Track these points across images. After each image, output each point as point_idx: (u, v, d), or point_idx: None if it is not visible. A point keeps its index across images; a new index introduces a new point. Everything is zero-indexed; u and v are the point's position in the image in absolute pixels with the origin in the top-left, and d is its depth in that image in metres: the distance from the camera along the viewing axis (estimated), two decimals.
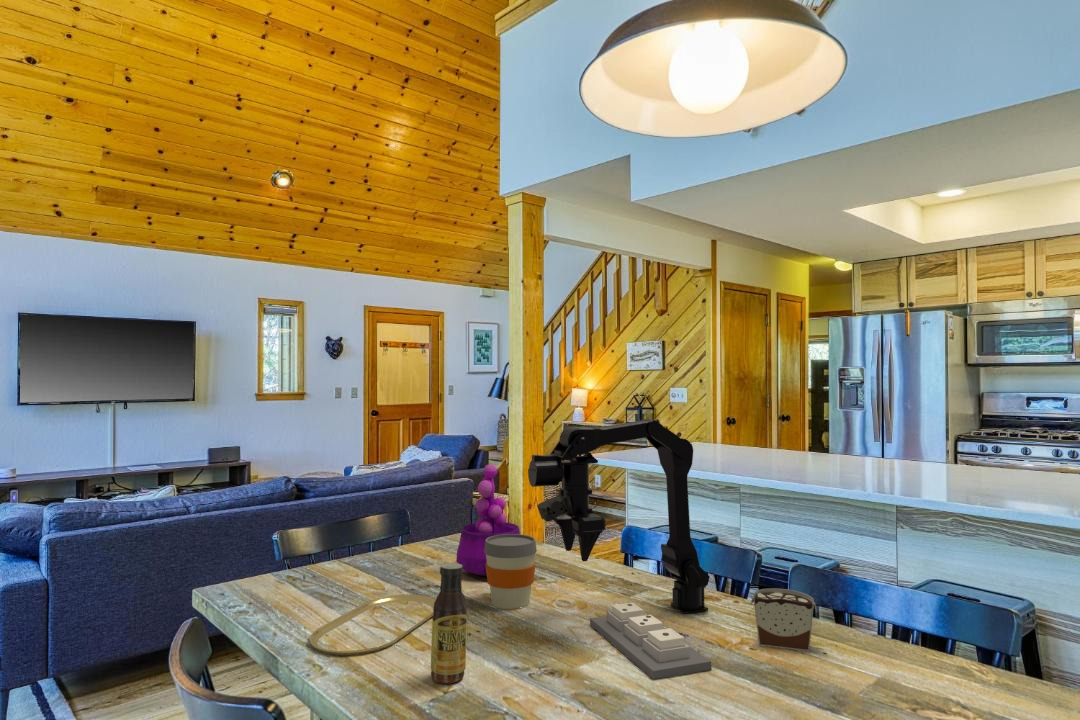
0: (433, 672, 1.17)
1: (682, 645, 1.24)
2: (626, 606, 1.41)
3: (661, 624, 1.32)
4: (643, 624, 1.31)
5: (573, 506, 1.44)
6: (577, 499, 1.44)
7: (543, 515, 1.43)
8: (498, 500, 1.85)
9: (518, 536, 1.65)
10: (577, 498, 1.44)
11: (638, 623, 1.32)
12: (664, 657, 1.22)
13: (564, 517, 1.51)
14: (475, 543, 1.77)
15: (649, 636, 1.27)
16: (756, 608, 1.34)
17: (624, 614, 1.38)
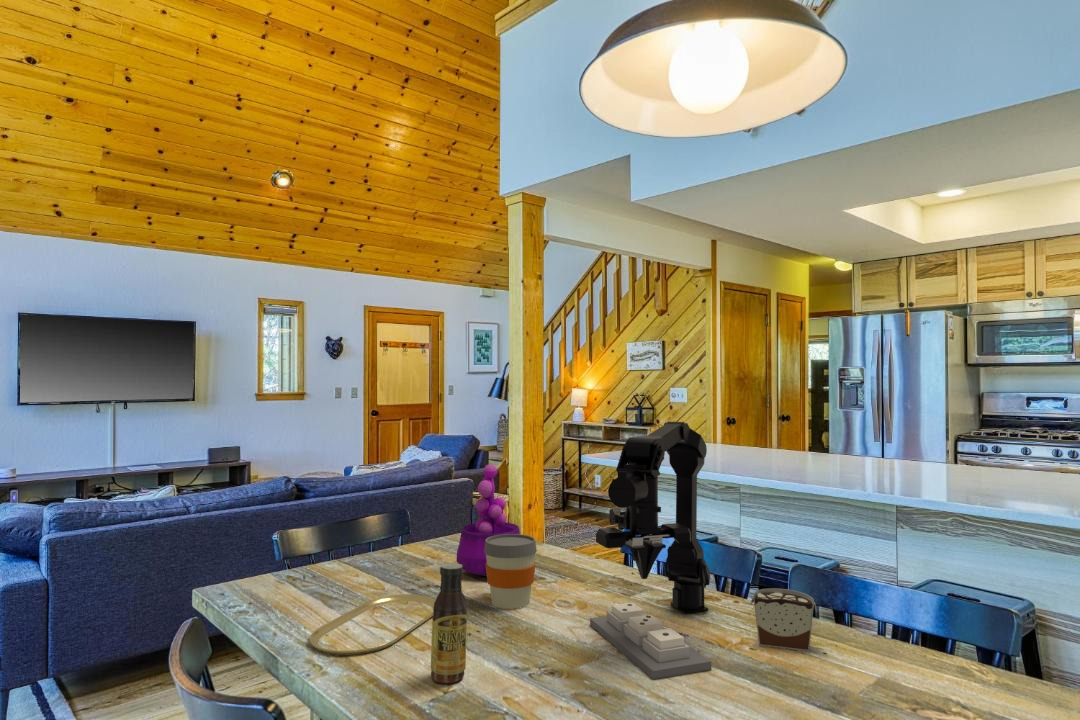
0: (433, 672, 1.17)
1: (682, 645, 1.24)
2: (626, 606, 1.41)
3: (661, 624, 1.32)
4: (643, 624, 1.31)
5: (629, 521, 1.35)
6: (629, 514, 1.34)
7: None
8: (498, 500, 1.85)
9: (518, 536, 1.65)
10: (629, 513, 1.34)
11: (638, 623, 1.32)
12: (664, 657, 1.22)
13: (646, 540, 1.35)
14: (475, 543, 1.77)
15: (649, 636, 1.27)
16: (756, 608, 1.34)
17: (624, 614, 1.38)
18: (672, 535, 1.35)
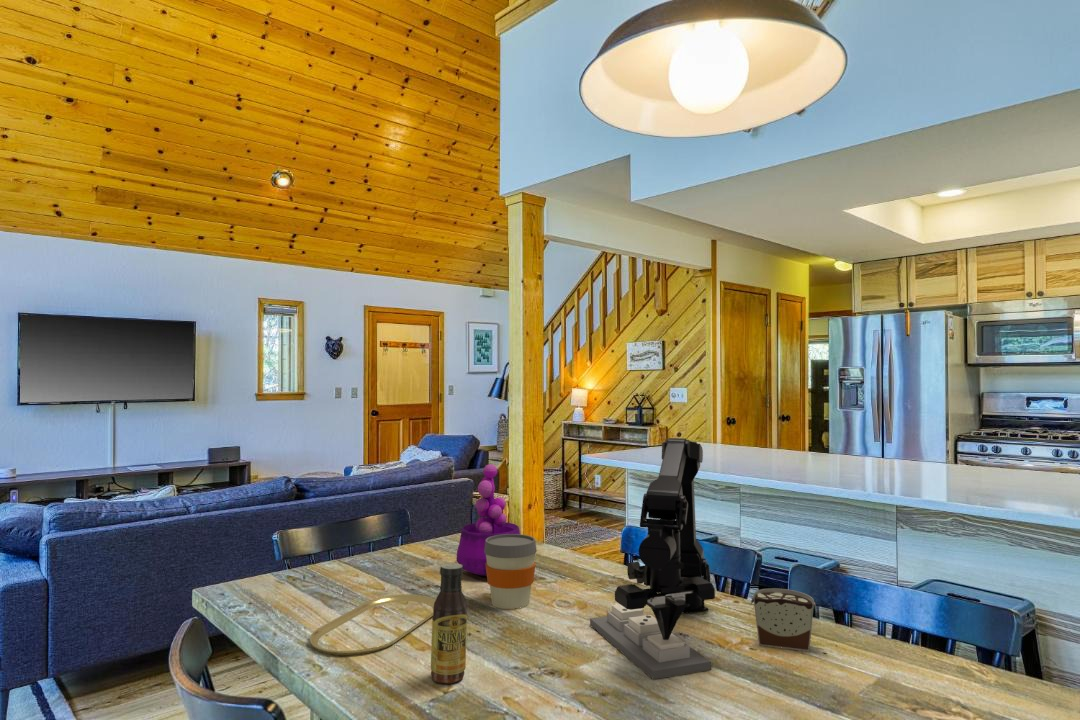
0: (433, 672, 1.17)
1: None
2: None
3: None
4: (643, 624, 1.31)
5: (649, 577, 1.27)
6: (650, 570, 1.26)
7: None
8: (498, 500, 1.85)
9: (518, 536, 1.65)
10: (650, 569, 1.26)
11: (638, 623, 1.32)
12: (664, 657, 1.22)
13: (668, 597, 1.27)
14: (475, 543, 1.77)
15: (649, 640, 1.27)
16: (756, 608, 1.34)
17: (624, 614, 1.38)
18: (695, 591, 1.28)
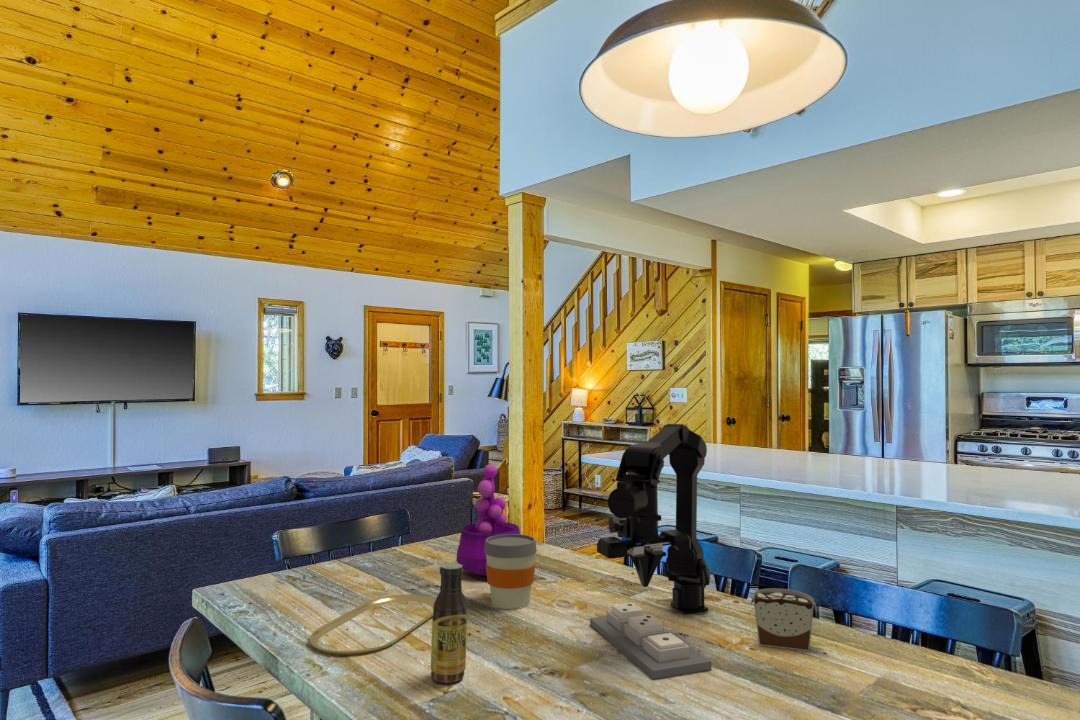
0: (433, 672, 1.17)
1: None
2: (626, 606, 1.41)
3: (661, 624, 1.32)
4: (643, 624, 1.31)
5: (629, 529, 1.35)
6: (629, 523, 1.34)
7: None
8: (498, 500, 1.85)
9: (518, 536, 1.65)
10: (629, 522, 1.34)
11: (638, 623, 1.32)
12: (664, 657, 1.22)
13: (647, 548, 1.35)
14: (475, 543, 1.77)
15: (649, 641, 1.27)
16: (756, 608, 1.34)
17: (624, 614, 1.38)
18: (672, 542, 1.36)
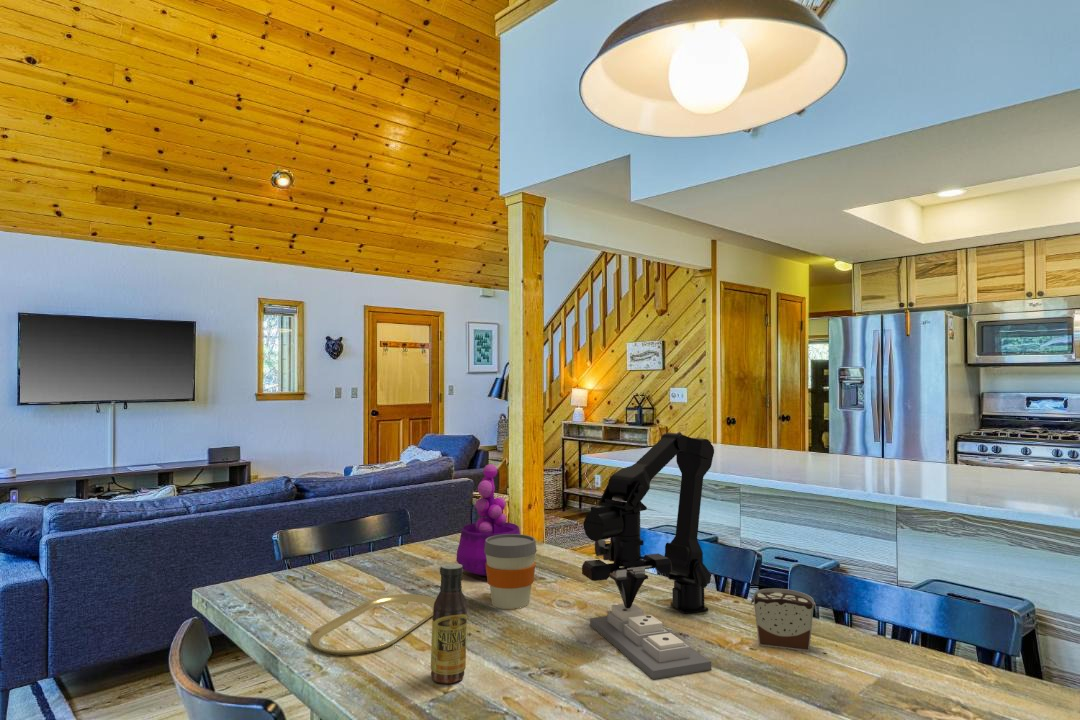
0: (433, 672, 1.17)
1: None
2: None
3: (661, 624, 1.32)
4: (643, 624, 1.31)
5: (613, 553, 1.42)
6: (613, 547, 1.41)
7: None
8: (498, 500, 1.85)
9: (518, 536, 1.65)
10: (613, 545, 1.41)
11: (638, 623, 1.32)
12: (664, 657, 1.22)
13: (630, 571, 1.42)
14: (475, 543, 1.77)
15: (649, 641, 1.27)
16: (756, 608, 1.34)
17: (624, 614, 1.38)
18: (654, 566, 1.43)
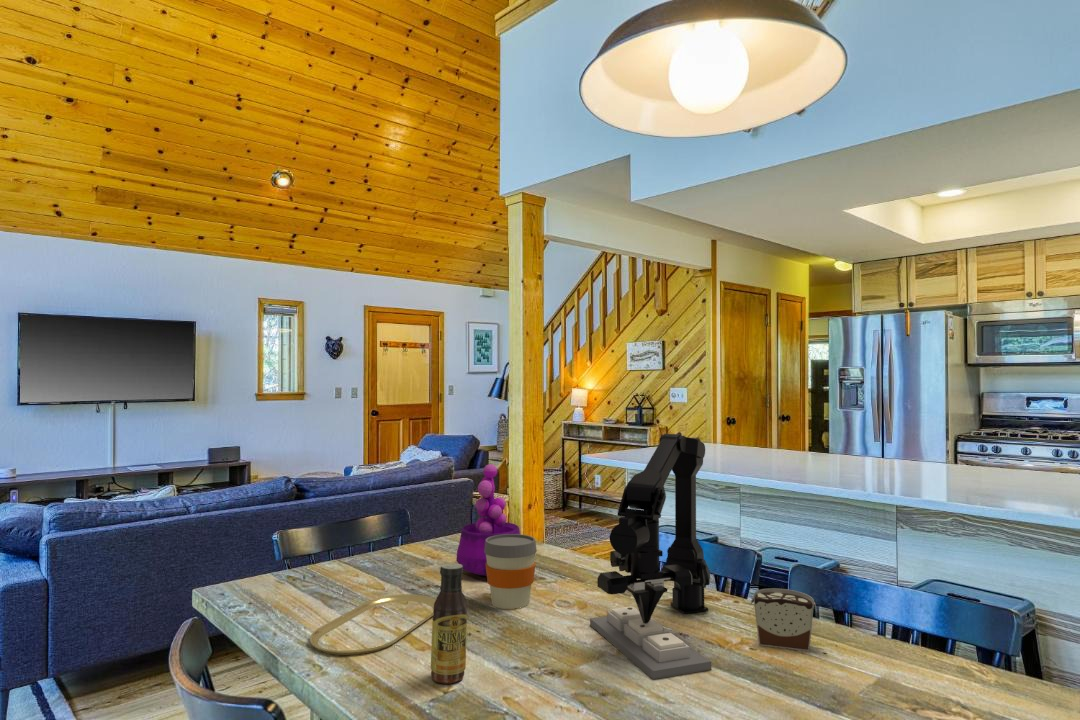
0: (433, 672, 1.17)
1: None
2: (626, 610, 1.41)
3: (661, 626, 1.32)
4: (643, 626, 1.31)
5: (630, 564, 1.34)
6: (630, 558, 1.34)
7: None
8: (498, 500, 1.85)
9: (518, 536, 1.65)
10: (630, 556, 1.34)
11: (638, 625, 1.32)
12: (664, 657, 1.22)
13: (648, 583, 1.35)
14: (475, 543, 1.77)
15: (649, 641, 1.27)
16: (756, 608, 1.34)
17: (624, 618, 1.38)
18: (673, 577, 1.35)
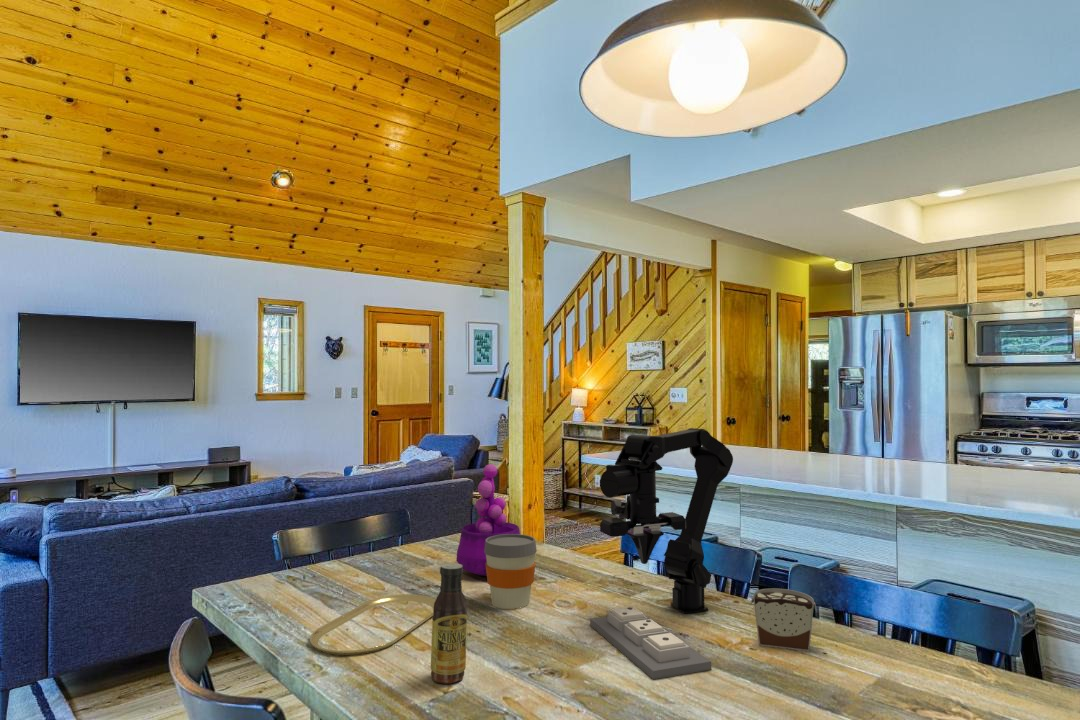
0: (433, 672, 1.17)
1: None
2: (626, 610, 1.41)
3: (661, 628, 1.32)
4: (643, 628, 1.31)
5: (630, 511, 1.47)
6: (630, 505, 1.46)
7: None
8: (498, 500, 1.85)
9: (518, 536, 1.65)
10: (630, 504, 1.47)
11: (638, 627, 1.32)
12: (664, 657, 1.22)
13: (646, 528, 1.48)
14: (475, 543, 1.77)
15: (649, 641, 1.27)
16: (756, 608, 1.34)
17: (624, 618, 1.38)
18: (669, 523, 1.48)
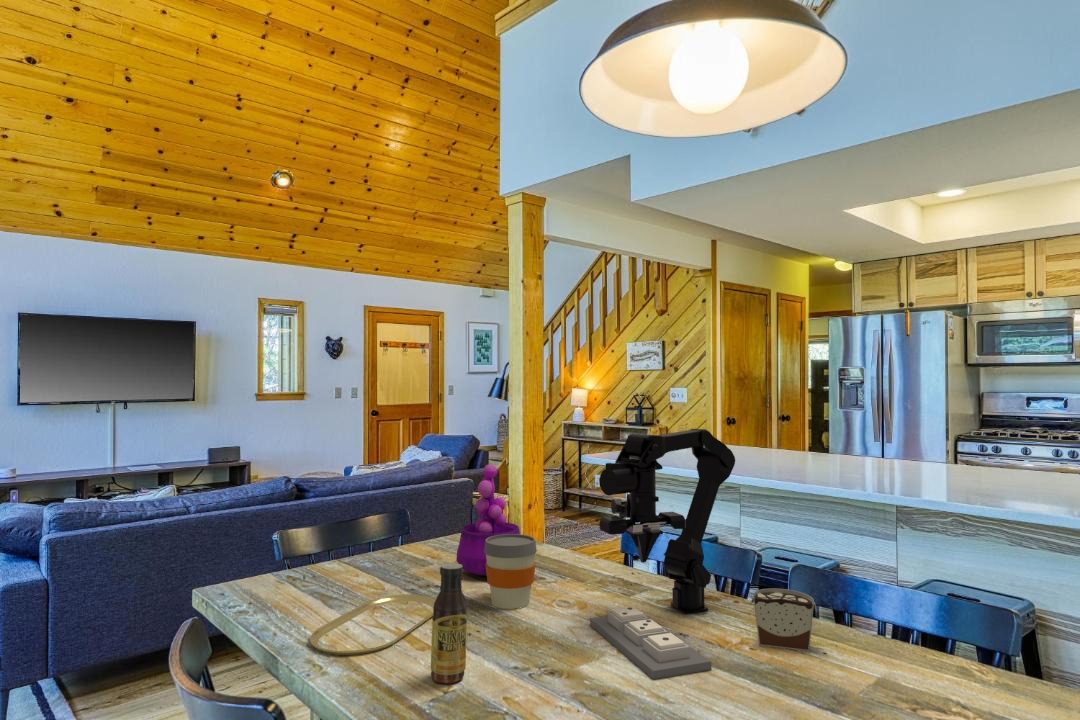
0: (433, 672, 1.17)
1: None
2: (626, 610, 1.41)
3: (661, 628, 1.32)
4: (643, 628, 1.31)
5: (629, 510, 1.48)
6: (630, 504, 1.47)
7: None
8: (498, 500, 1.85)
9: (518, 536, 1.65)
10: (629, 502, 1.47)
11: (638, 627, 1.32)
12: (664, 657, 1.22)
13: (645, 527, 1.48)
14: (475, 543, 1.77)
15: (649, 641, 1.27)
16: (756, 608, 1.34)
17: (624, 618, 1.38)
18: (669, 522, 1.49)
